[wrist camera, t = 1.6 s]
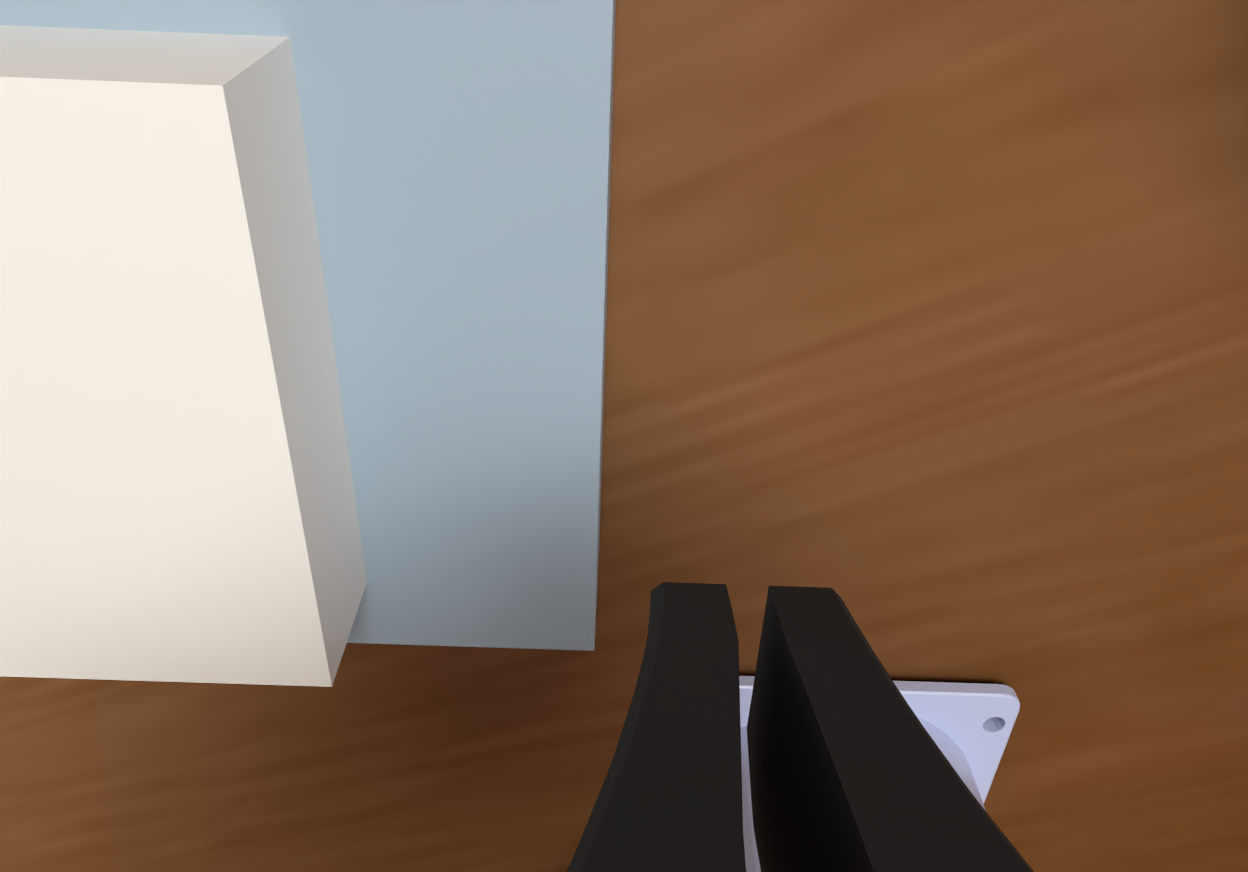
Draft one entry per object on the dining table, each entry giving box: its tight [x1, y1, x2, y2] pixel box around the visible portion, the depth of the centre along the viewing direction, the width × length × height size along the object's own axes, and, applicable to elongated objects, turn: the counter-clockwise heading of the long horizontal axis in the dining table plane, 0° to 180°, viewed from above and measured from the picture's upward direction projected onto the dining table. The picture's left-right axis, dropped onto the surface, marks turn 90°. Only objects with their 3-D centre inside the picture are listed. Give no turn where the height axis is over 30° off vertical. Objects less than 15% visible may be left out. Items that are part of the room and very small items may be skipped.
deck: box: [0, 0, 616, 651], centre depth 16 cm, size 12×17×4 cm
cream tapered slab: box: [0, 25, 367, 687], centre depth 14 cm, size 9×6×2 cm, turn 178°
